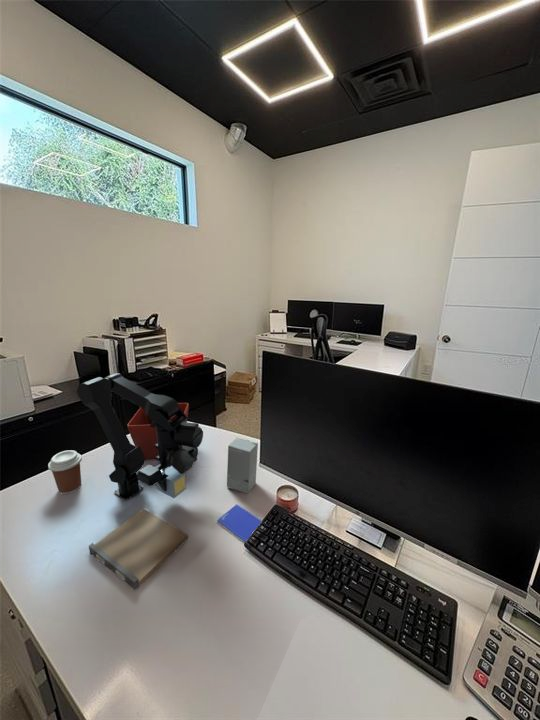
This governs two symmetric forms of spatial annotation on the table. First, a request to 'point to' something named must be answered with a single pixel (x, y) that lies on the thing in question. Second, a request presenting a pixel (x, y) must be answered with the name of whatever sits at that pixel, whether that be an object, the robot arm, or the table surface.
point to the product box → (174, 482)
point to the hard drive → (239, 522)
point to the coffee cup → (66, 471)
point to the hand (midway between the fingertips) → (171, 485)
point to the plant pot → (148, 432)
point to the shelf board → (138, 547)
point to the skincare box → (242, 465)
